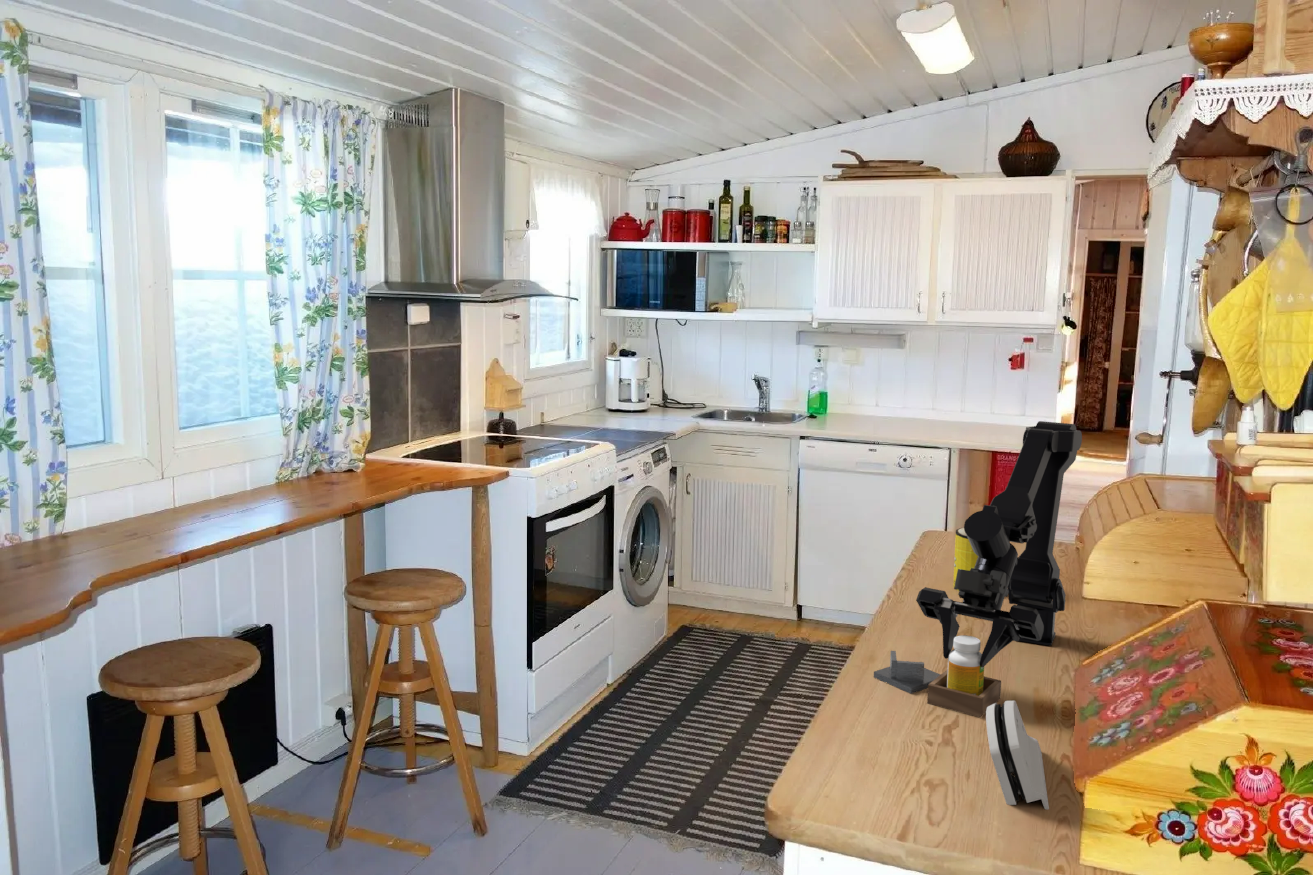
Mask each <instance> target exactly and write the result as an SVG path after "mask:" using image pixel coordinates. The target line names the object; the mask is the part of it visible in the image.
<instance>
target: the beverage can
mask: <svg viewBox="0 0 1313 875" xmlns="http://www.w3.org/2000/svg"><path fill="white" fill-rule="evenodd" d="M954 540H955V542H954V557H953V558H954V565H953V581H952V582H953V585H952V587H953V588H954V586H955V581H956V576H957V571H958V569H962V570H968V571H970V570H971V568H974V567H975V564H976V561H977V558H978V556H977V555H976V554H975V553H974V551H973V549H972V546H971V544H970V542H969V540H968V537H967V535H966V533H965V530H964V527H960V528H957V529H956V530H955V539H954ZM956 591H958V592H959V590H958V589H957V590H956Z"/></svg>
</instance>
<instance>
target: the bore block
mask: <svg viewBox="0 0 1313 875" xmlns="http://www.w3.org/2000/svg"><path fill="white" fill-rule="evenodd" d="M947 673H948V668H947V669H946V670H944V671H943V672H942V673H940V674H941V675H940V676H938V677H937V678H936V679H935V680H933V681H932V682H931V683H930V684H928V688H927V698H926V699H927V700H926V704H929V705H932V706H937V707H939V708H943V709H948V710H951V711H955V712H959V713H963V714H964V715H965V714H966V715H969V716H972V717H973V716H974V717H977V718H982V717H983V716H984V715H986V710H987V707H988V706H990V705H992V704H995V703H997V704H998V702H999V701H1000V700H1001V695H1002V694H1001V693H1002V680H1000V679H995V678H991V677H988V676H984V682H983V693H981V694H980V695H979V696H977V695H973V694H969V693H965V692H961V691H958V690H954V689H950V688H947Z"/></svg>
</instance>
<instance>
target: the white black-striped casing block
mask: <svg viewBox="0 0 1313 875" xmlns="http://www.w3.org/2000/svg"><path fill="white" fill-rule="evenodd" d="M1022 718H1023V717H1022V716H1021V713H1020V711H1019V707H1018V704H1017V701H1016V700H1005V701H1004V703H1002V704H1001V703H999V704H998V702H997V703H995V704H992V705H990V706H988V707H987V710H986V713H985V723H986V724H985V725H986V733H987V734H986V736H987V740H988V741H987V742H988V747H989V752H990V757H991V760H992V763H993V766H994V769H995V772H996V776H997V778H998V782H999V784H1000V787H1001V788H1000V789H1001V791H1002V795H1003V797H1004V801H1005V803H1006V805H1008V806H1016V805H1017V802H1020V796H1021V799H1022V801H1025V802H1026V803H1027V804H1028V803H1031V802H1035V801H1039V800H1041V802H1042V805H1043V808H1044V810H1050V807H1049V800H1048V798H1049V797H1048V793H1047V785H1046V777H1045V768H1044V761H1043V755H1042V750H1041V746H1040V743H1039V740H1038V739H1037V738H1034V737H1033V736H1030V735H1029V734H1028V732H1027V729H1026V727H1025V724H1024V721H1023V719H1022ZM1013 774H1014V775H1013Z"/></svg>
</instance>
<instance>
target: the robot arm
mask: <svg viewBox="0 0 1313 875" xmlns="http://www.w3.org/2000/svg"><path fill="white" fill-rule="evenodd" d="M1082 443H1083V435H1082V431H1081V430H1077V426H1076V424H1075V423H1067V422H1066V423H1064V422H1055V421H1054V422H1052V421H1042V420H1040V421H1037V423H1036V425H1034V426H1026V427H1025V430H1024V433H1023V436H1022V447H1021V449H1020V452H1019V454H1018V457H1017V459H1016V461H1015V464H1014V467H1013V469H1012V472H1011V475H1010V477H1009V480H1008V481H1007V484H1006V487H1005V489H1004V490H1003V491H1001V492H1000V493H999V494H997V495H995V496H994V497H993V498H992V500H991V502H990V504H989V505H988V504H984V505H983V506H982V507H983V508H982V510H979V511H976V512H974V513H971V515H969V517H967V518H966V519H965V521H964V525H963V528H964V530H965V533H966V535H967V537H968V540H969V542H970V544H971V546H972V549H973V551H974V553H975V554H976V555H977V556H978V558H977V561H976V564H975V567H974V568H971V570H970V571H968V570H962V569H958V571H957V576H956V581H955V586H954V587H953V589H954V590H956V591H957V589H958V590H959V591H958V594H957V595H958V597H959V598H960V599H962V602H961V601H957V600H953V599H951V598H949V596H948V594H947V592H946V591H945V590H942V589H941V590H940V589H937V588H931V587H924V588H922V589H920V591H918V594H917V597H916V599H915V601H916V603H917V605H918V607H919V608H920V610H921V613H923V616H925V617H927V618H929V619H933V620H938V621H939V623H940V624H941V628H942V647H943V648H942V654H943V655H942V656H943V658H944V659H946V660H948V655H949V653H950V652H951V651H952V650H953V648H954V647H953V641H954V638H955V637H956V636H958V633H959V629H960V624H959V622H958V620H957V618H958V616H959V615H960V616H965V617H970V618H973V619H974V618H976V619H979V620H984V621H988V622H992V623H991V624H992V625H991V629H990V630H991V631H990V633H989V636H988V639H987V641H986V643H985V645H984V648H983V650H982V652H981V653H982V656H981V660H980V666H981V667H984V668H985V666H987V665H988V663H990V661H991V660H992V659H993V658H994V657H996V655H997V654H999V653H1000V651H1002V650H1003V649H1004V648H1006V647H1007V646H1008V645H1009V644H1010V643H1012V642H1025V643H1031V644H1035V645H1036V644H1038V645H1044V646H1052V645H1053V643H1054V639H1055V637H1056V631H1055V624H1056V614H1057V613H1058V612H1064V611H1065V609H1066V596H1067V595H1066V591H1065V589H1064V586H1063V583H1062V580H1061V578H1060V574H1061V571H1060V567H1059V564H1058V563H1057V560H1056V558H1055V556H1054V544H1055V540H1056V531H1057V526H1058V525H1057V523H1058V518H1059V509H1060V505H1061V496H1062V490H1063V484H1064V483H1063V481H1064V476H1065V473H1066V472H1067V470H1069V468H1071V466H1072V465H1073V464H1074V462H1075V461H1076V459H1077V455H1078V451H1080V449H1081V446H1082ZM1012 543H1017V544H1024V543H1025V548H1024V550H1023V551H1022V553H1021V554H1020V555H1019V553H1018V551H1017V549H1016V547H1015V546H1014V545H1013V544H1012ZM1005 597H1006V598H1008V604H1010V605H1012V606H1011V607H1010V609H1009V611H1006V610H1001V609H1002V606H1003V603H1004V601H1005Z"/></svg>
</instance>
